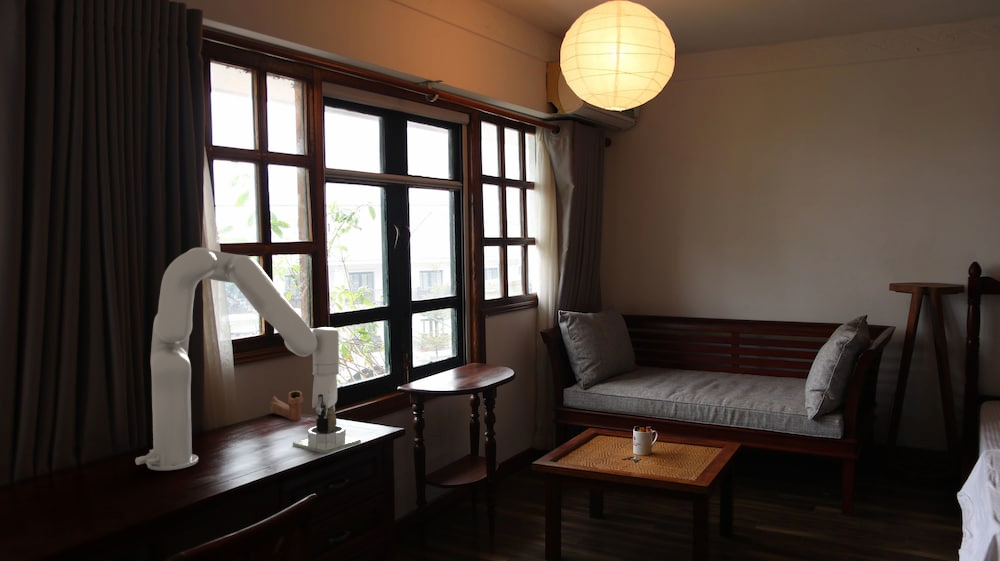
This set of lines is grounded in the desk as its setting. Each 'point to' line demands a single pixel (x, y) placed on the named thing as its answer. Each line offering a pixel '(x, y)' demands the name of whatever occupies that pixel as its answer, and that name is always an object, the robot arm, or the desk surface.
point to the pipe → (288, 406)
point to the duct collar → (326, 440)
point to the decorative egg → (330, 420)
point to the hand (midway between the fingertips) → (326, 428)
